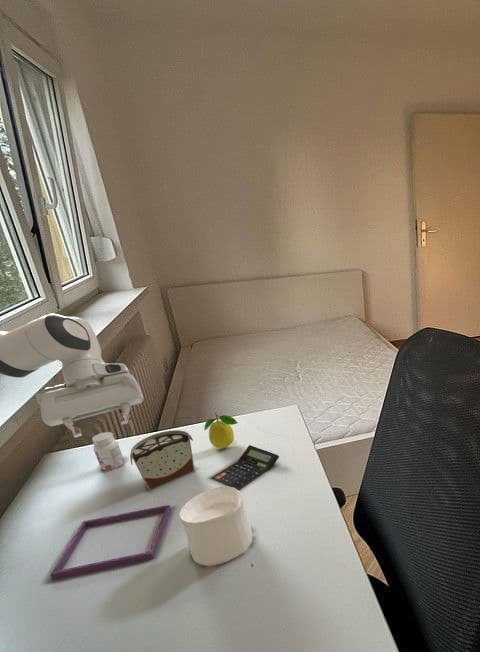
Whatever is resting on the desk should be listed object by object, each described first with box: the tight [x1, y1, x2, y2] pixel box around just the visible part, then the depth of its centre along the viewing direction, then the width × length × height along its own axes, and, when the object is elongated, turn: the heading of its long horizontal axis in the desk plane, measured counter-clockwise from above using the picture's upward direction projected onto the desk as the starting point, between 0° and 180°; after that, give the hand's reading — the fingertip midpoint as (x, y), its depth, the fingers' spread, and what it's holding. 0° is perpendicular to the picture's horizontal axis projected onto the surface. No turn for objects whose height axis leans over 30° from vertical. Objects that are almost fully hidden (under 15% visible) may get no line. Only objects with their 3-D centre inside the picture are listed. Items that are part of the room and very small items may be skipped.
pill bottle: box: [91, 431, 126, 471], centre depth 102 cm, size 5×5×8 cm
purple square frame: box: [49, 504, 172, 581], centre depth 79 cm, size 15×13×2 cm
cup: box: [178, 486, 253, 567], centre depth 75 cm, size 10×10×10 cm
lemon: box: [204, 412, 238, 449], centre depth 107 cm, size 7×6×10 cm
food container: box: [129, 429, 196, 491], centre depth 96 cm, size 12×6×10 cm, turn 135°
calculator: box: [210, 444, 280, 491], centre depth 98 cm, size 9×12×3 cm
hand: (102, 429), depth 104 cm, fingers open, 8 cm apart
